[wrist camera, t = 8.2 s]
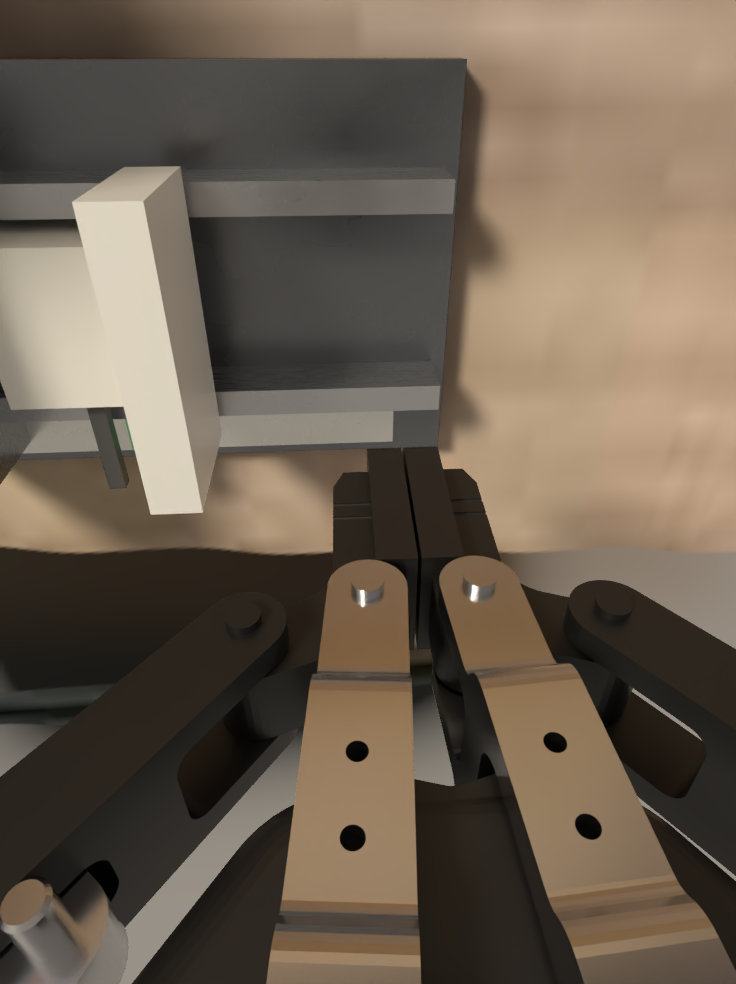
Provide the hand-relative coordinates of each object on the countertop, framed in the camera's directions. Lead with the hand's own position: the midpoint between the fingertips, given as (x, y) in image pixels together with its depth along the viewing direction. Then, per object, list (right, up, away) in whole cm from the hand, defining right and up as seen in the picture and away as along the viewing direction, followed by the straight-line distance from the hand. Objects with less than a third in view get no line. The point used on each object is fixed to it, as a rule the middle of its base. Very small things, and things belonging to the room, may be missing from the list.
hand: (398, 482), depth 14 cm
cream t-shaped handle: (-10, +6, +10) cm, 15 cm away
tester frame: (-8, +8, +10) cm, 15 cm away
